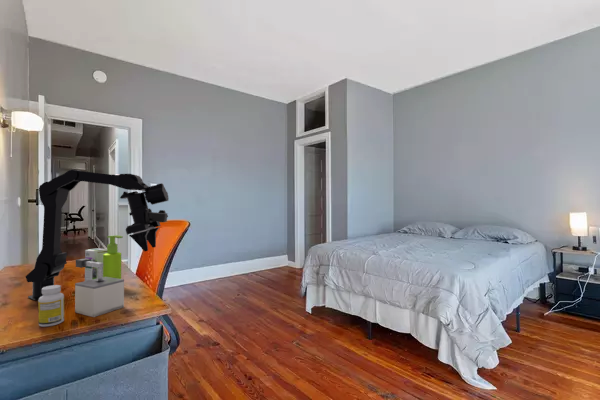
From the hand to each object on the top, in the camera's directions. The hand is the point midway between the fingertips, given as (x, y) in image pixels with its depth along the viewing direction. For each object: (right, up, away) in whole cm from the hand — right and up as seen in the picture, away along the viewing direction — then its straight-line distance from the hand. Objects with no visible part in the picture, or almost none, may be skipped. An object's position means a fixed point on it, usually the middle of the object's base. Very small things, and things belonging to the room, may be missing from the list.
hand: (150, 249), depth 111 cm
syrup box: (-24, -16, +7) cm, 30 cm away
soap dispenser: (-16, -16, +4) cm, 23 cm away
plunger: (-10, -9, -17) cm, 22 cm away
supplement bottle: (-12, -16, -29) cm, 35 cm away
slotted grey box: (-6, -15, -19) cm, 25 cm away
